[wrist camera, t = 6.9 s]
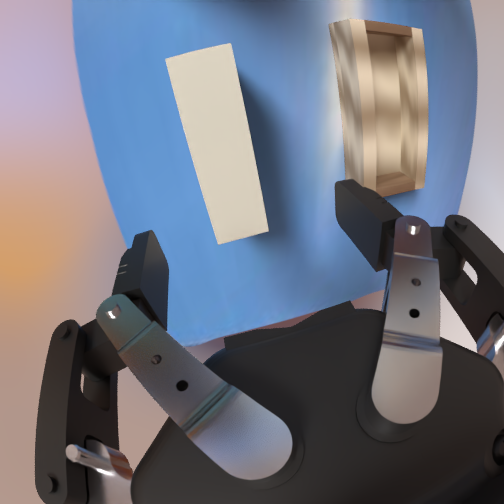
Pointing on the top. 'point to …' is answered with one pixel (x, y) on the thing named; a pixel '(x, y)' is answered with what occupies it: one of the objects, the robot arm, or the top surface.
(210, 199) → the strip
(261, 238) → the top surface
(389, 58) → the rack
